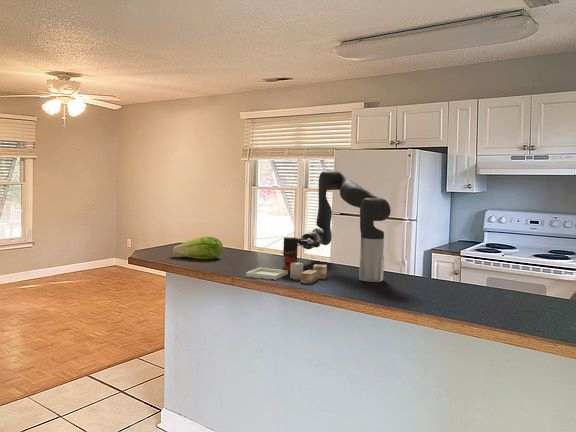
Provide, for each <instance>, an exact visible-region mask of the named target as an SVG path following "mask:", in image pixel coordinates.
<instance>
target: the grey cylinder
mask: <svg viewBox="0 0 576 432" xmlns="http://www.w3.org/2000/svg"><path fill="white" fill-rule="evenodd" d="M302 272H304V263H302V262H298V261H297V262H293V263H291V269H290V274H289V279H291V278H292V279H293V280H301V273H302ZM292 279H291V280H292Z"/></svg>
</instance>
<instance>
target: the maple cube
mask: <svg viewBox="0 0 576 432" xmlns="http://www.w3.org/2000/svg"><path fill="white" fill-rule="evenodd" d="M312 266H313V267H312V270H315V271H318V275H317V279H320V280H321V279H323V280H326V279H327V271H328V265H327V264H319V263H318V264H316V263H315V264H314V265H312Z"/></svg>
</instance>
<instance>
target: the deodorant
mask: <svg viewBox="0 0 576 432" xmlns="http://www.w3.org/2000/svg"><path fill="white" fill-rule="evenodd" d="M298 238H299V237H284V238H283V249H282V250H283V251H282V253H283V255H282V270H288V275H290V269H291V263H293V262H298V247H299V246H298V245H299V244H298Z"/></svg>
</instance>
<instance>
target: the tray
mask: <svg viewBox="0 0 576 432" xmlns="http://www.w3.org/2000/svg"><path fill="white" fill-rule="evenodd" d="M287 274H288V270H283V269H276V268H267V267H257V268H254V269H252V270H249V271H246V273H245V277H246V278H252V277H253V278H254V279H261V278H263V280H270V279H274V280H273V281H277V280H279V279H282V278H283V276H284V277H286V276H288V275H289V274H288V275H287ZM285 275H286V276H285ZM281 277H282V278H281ZM278 278H279V279H278ZM276 279H277V280H276Z"/></svg>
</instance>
